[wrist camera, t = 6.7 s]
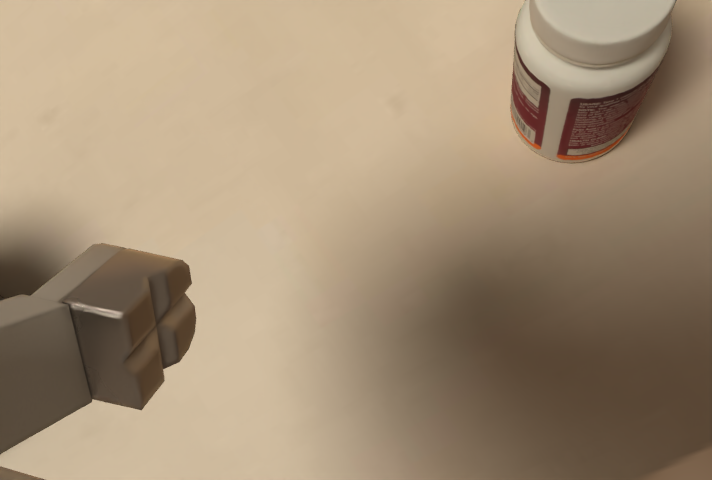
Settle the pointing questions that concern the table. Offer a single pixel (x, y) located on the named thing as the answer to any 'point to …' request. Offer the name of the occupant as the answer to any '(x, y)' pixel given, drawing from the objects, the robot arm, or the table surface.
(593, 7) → the pill bottle
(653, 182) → the table surface
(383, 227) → the table surface
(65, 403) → the robot arm
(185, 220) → the table surface
